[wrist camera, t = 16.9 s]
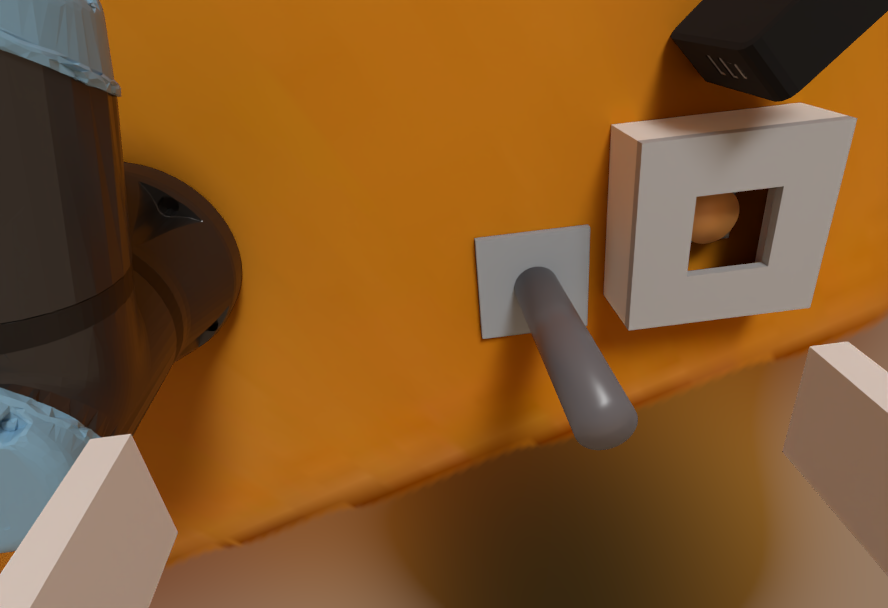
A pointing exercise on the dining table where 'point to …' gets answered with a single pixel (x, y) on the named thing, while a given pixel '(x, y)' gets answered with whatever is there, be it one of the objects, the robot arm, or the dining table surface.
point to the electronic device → (771, 40)
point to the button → (714, 217)
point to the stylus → (574, 363)
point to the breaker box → (717, 172)
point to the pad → (518, 253)
